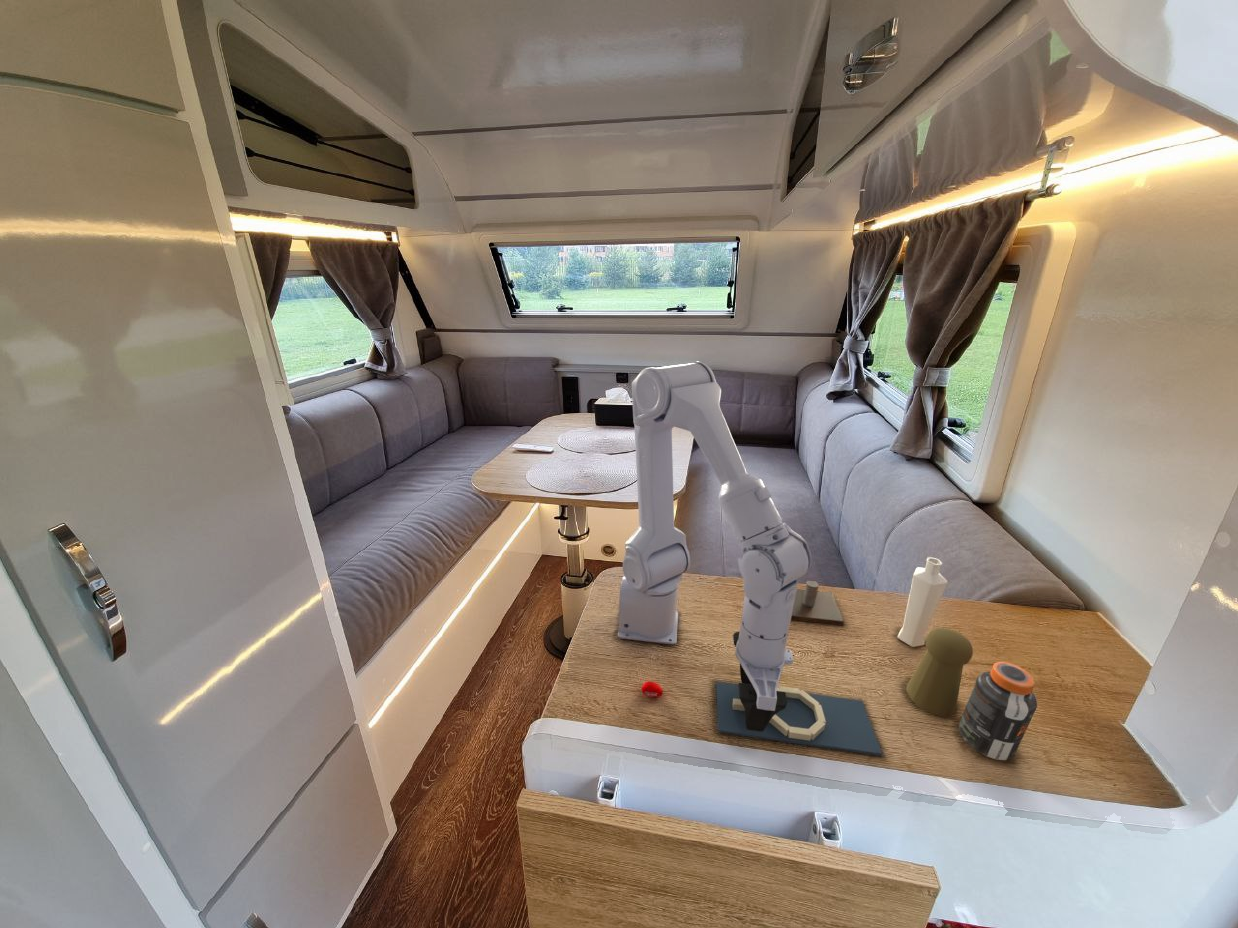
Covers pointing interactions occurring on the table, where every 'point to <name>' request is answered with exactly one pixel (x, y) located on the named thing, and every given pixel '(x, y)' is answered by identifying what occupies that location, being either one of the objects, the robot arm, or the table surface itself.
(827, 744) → the mat
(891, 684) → the table surface
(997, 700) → the pill bottle
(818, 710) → the octagonal ring with handle
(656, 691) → the candy
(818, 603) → the peg stand
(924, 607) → the perfume bottle
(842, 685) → the table surface
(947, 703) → the pepper shaker
